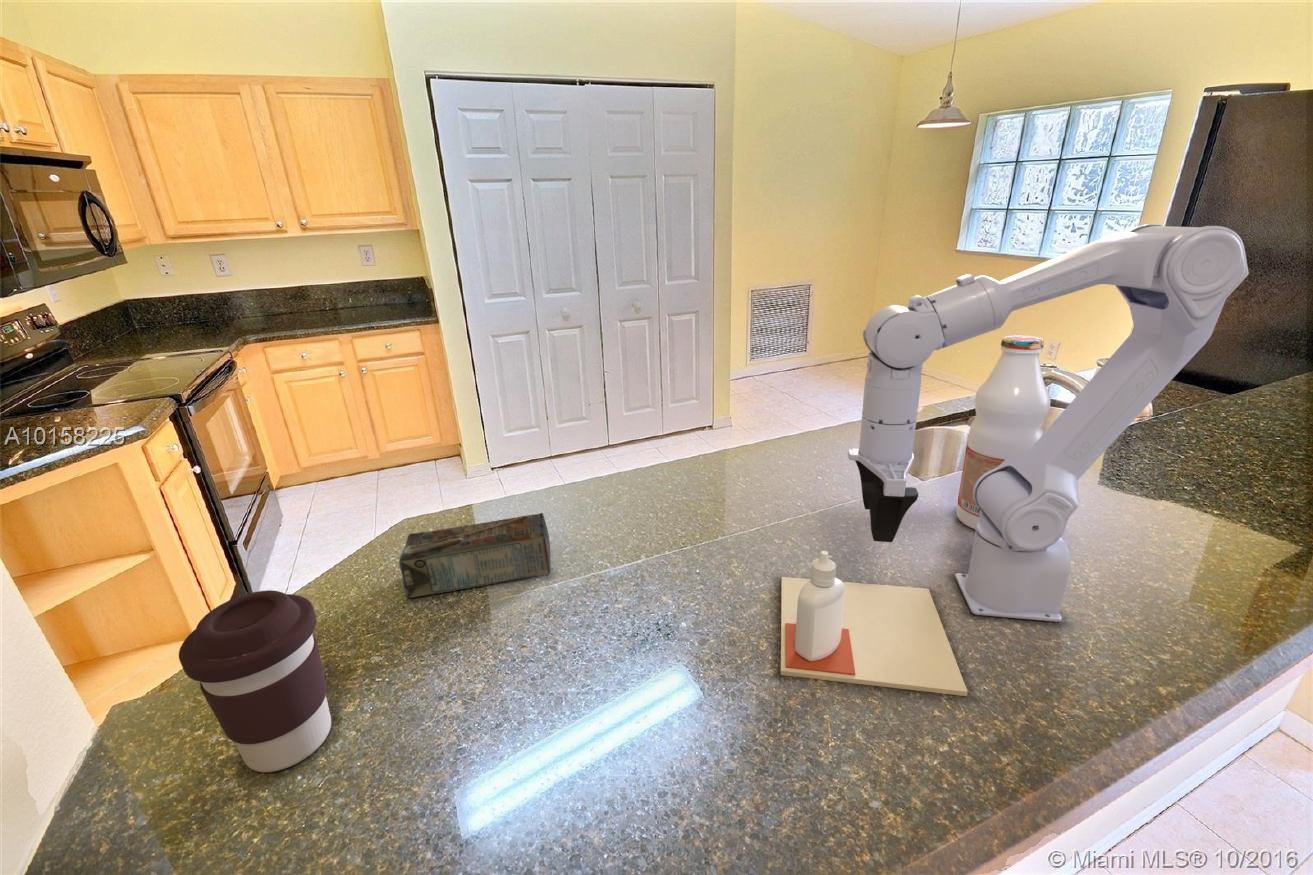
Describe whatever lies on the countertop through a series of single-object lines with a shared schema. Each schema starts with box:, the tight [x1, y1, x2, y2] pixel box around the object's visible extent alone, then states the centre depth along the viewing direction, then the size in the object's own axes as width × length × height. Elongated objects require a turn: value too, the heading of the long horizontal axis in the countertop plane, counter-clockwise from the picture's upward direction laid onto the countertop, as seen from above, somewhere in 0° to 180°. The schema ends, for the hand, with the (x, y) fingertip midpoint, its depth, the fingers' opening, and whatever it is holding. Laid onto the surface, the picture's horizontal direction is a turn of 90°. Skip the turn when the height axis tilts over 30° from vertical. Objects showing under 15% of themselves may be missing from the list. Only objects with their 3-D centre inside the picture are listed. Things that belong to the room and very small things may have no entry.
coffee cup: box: [178, 589, 332, 773], centre depth 53 cm, size 10×10×15 cm
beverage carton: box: [398, 512, 551, 599], centre depth 80 cm, size 8×19×7 cm, turn 103°
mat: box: [780, 576, 969, 697], centre depth 66 cm, size 18×17×1 cm
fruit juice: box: [956, 334, 1052, 531], centre depth 83 cm, size 9×9×28 cm
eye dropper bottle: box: [795, 550, 845, 661], centre depth 61 cm, size 4×6×12 cm
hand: (877, 523), depth 69 cm, fingers open, 7 cm apart
